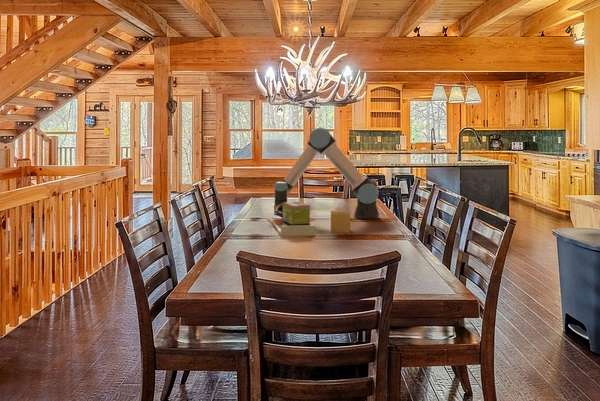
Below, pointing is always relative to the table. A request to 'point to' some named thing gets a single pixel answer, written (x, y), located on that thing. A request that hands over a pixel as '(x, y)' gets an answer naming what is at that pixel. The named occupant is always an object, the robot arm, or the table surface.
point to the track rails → (273, 223)
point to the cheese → (340, 222)
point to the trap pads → (278, 221)
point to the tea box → (296, 214)
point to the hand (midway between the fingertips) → (290, 216)
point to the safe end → (297, 230)
